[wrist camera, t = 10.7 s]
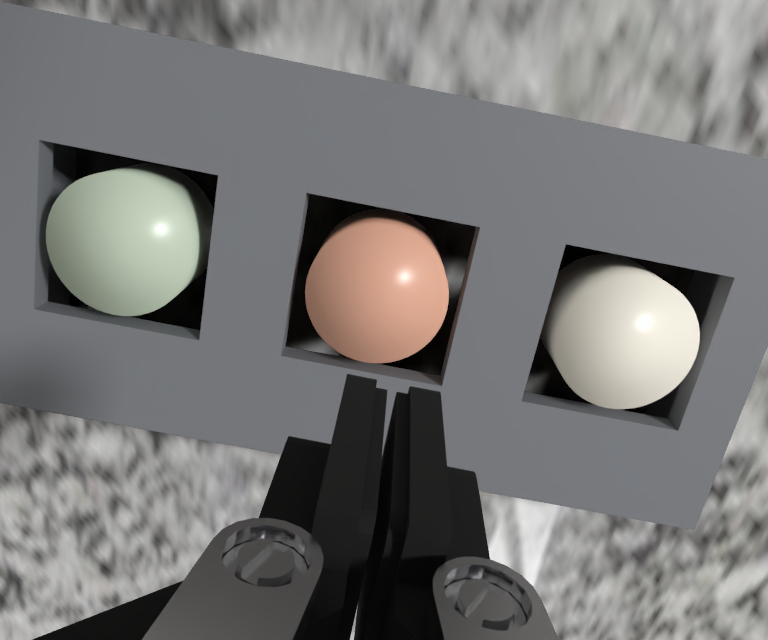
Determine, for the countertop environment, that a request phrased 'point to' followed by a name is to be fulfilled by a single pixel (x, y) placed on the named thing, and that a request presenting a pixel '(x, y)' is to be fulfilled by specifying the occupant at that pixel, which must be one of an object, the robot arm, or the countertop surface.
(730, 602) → the countertop surface
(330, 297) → the terracotta button
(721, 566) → the countertop surface
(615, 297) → the cream button
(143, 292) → the sage button
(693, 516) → the button box
